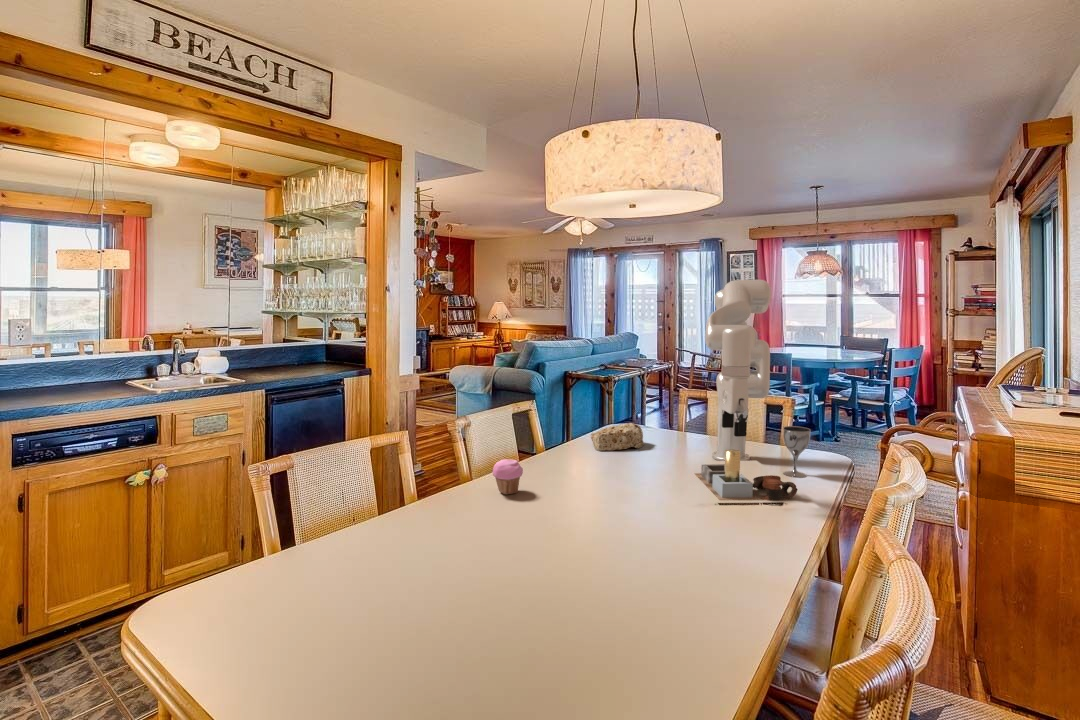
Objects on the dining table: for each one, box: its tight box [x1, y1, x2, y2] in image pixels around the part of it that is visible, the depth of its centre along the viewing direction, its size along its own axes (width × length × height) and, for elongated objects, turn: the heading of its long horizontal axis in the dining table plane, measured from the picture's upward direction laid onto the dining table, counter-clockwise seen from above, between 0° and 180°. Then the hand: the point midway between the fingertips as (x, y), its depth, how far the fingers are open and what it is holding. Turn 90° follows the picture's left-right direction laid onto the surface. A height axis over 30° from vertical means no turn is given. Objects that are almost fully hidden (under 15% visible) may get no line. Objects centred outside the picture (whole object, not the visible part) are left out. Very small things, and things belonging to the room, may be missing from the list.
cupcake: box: [492, 458, 524, 495], centre depth 163 cm, size 9×9×10 cm
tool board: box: [694, 463, 760, 506], centre depth 164 cm, size 24×11×5 cm, turn 1°
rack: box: [712, 473, 754, 498], centre depth 158 cm, size 8×8×4 cm
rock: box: [590, 422, 645, 452], centre depth 216 cm, size 21×14×10 cm
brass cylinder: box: [724, 449, 741, 482], centre depth 158 cm, size 4×4×12 cm
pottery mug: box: [752, 474, 798, 506], centre depth 156 cm, size 12×9×8 cm
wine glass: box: [782, 425, 811, 479], centre depth 179 cm, size 8×8×15 cm
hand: (733, 431), depth 157 cm, fingers open, 9 cm apart
